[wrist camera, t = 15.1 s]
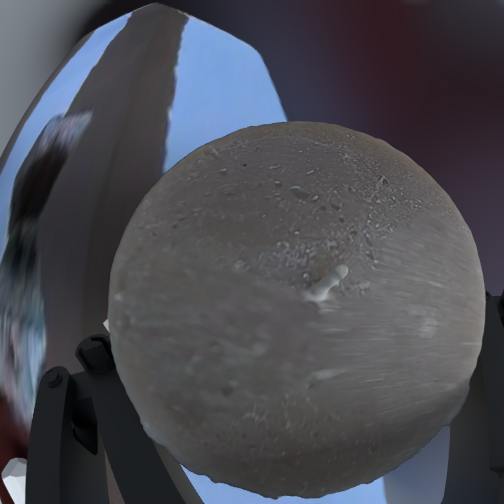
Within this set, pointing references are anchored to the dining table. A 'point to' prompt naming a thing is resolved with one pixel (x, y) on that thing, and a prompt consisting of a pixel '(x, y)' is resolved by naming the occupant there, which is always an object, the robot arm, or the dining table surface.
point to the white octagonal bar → (16, 479)
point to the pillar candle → (296, 309)
